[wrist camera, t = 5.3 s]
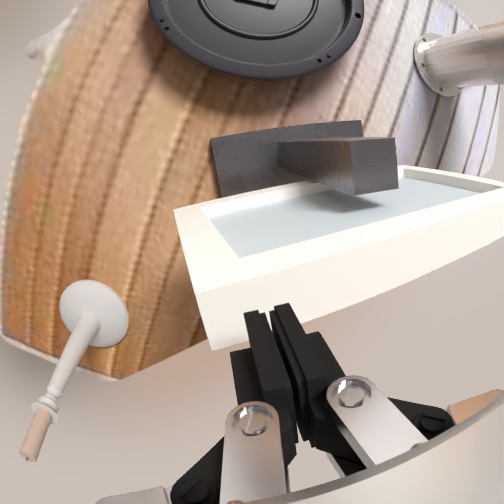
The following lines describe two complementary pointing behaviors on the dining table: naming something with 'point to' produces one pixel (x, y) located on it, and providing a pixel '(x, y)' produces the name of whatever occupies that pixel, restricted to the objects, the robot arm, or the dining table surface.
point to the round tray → (260, 34)
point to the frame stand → (306, 158)
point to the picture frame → (329, 244)
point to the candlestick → (76, 348)
